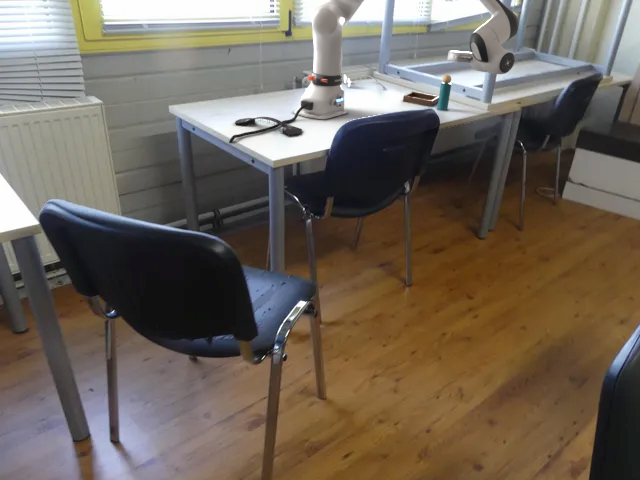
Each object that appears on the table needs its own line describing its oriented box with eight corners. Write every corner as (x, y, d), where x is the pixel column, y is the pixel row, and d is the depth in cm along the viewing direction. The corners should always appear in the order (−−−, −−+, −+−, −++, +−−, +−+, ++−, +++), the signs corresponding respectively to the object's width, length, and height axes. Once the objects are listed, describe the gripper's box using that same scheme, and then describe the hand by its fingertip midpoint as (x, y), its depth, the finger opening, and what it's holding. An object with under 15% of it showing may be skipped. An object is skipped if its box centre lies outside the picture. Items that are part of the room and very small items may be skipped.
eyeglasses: (342, 81, 269) (343, 73, 267) (377, 82, 273) (378, 74, 271) (349, 89, 256) (350, 80, 254) (386, 90, 261) (387, 81, 259)
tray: (431, 106, 240) (432, 101, 239) (402, 101, 244) (403, 95, 243) (439, 101, 249) (439, 96, 248) (411, 96, 253) (412, 91, 252)
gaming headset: (293, 137, 186) (293, 128, 184) (231, 124, 193) (230, 114, 192) (305, 131, 193) (306, 122, 192) (245, 118, 201) (245, 109, 199)
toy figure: (445, 111, 235) (451, 76, 228) (435, 109, 237) (441, 74, 229) (448, 109, 239) (454, 74, 231) (438, 107, 240) (444, 73, 233)
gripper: (457, 66, 204) (438, 62, 215) (502, 69, 212) (481, 65, 223) (460, 48, 201) (441, 45, 213) (505, 51, 209) (484, 49, 221)
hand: (462, 56), depth 218 cm, fingers open, 8 cm apart
